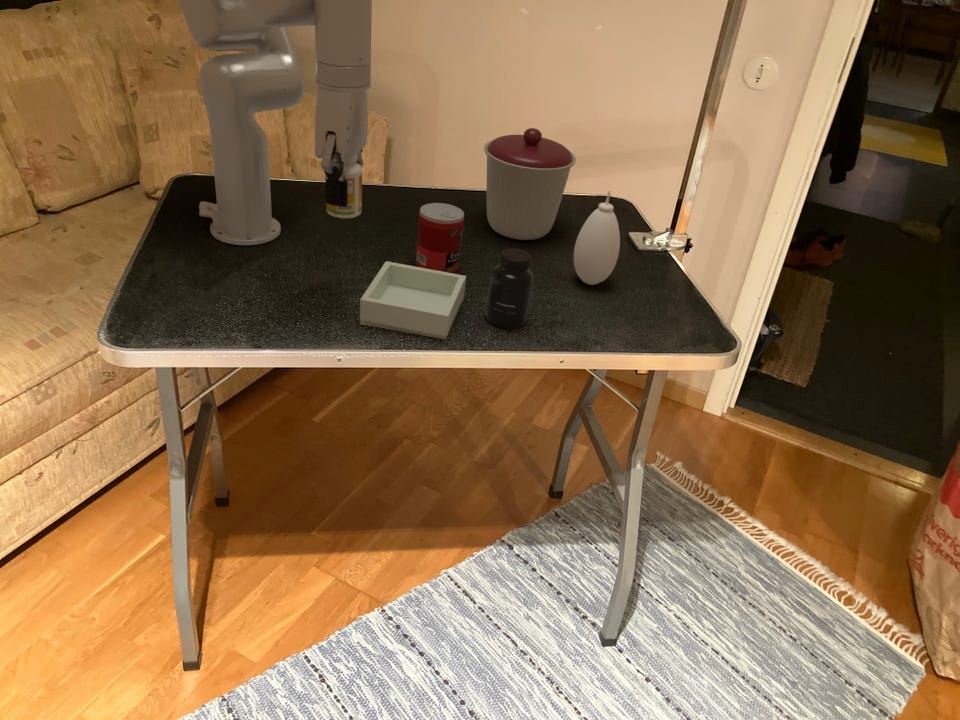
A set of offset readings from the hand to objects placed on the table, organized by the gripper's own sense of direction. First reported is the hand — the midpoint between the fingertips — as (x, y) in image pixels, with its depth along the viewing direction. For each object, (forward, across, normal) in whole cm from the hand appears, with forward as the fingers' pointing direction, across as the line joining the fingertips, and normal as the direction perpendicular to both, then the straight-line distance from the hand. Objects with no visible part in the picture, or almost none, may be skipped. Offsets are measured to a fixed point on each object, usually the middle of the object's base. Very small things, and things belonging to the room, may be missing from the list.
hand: (344, 196), depth 114 cm
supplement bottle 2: (+19, -4, +27) cm, 33 cm away
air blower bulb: (+19, -24, +39) cm, 49 cm away
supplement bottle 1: (+3, 0, 0) cm, 3 cm away
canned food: (+18, -18, +11) cm, 28 cm away
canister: (+18, -41, +23) cm, 50 cm away
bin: (+18, -1, +12) cm, 22 cm away
